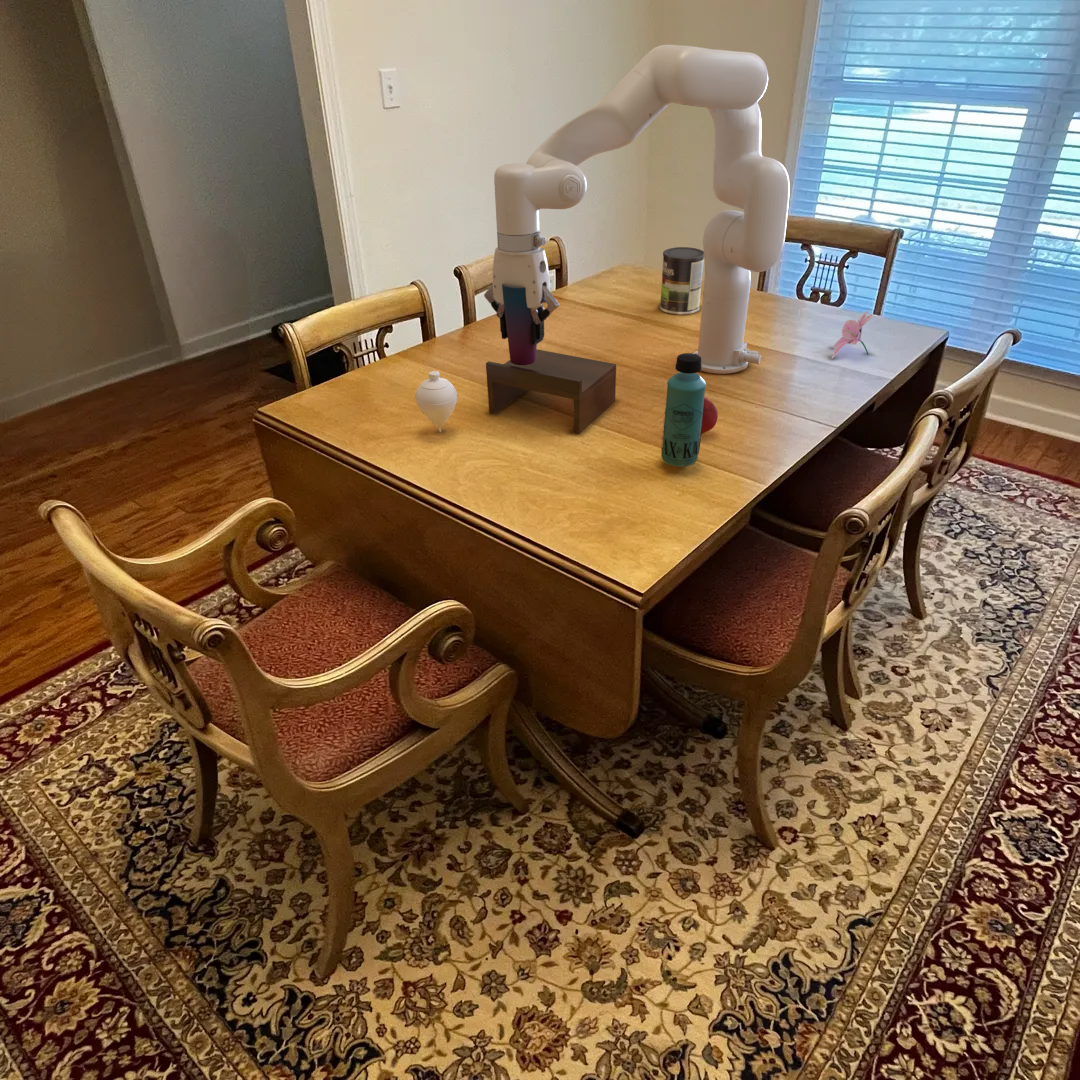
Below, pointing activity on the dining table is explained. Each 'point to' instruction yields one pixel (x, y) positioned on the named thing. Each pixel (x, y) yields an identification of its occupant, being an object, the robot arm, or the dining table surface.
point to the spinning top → (436, 399)
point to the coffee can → (681, 280)
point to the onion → (708, 416)
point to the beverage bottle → (683, 412)
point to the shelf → (556, 383)
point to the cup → (518, 326)
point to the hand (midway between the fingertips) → (522, 338)
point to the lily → (852, 333)
